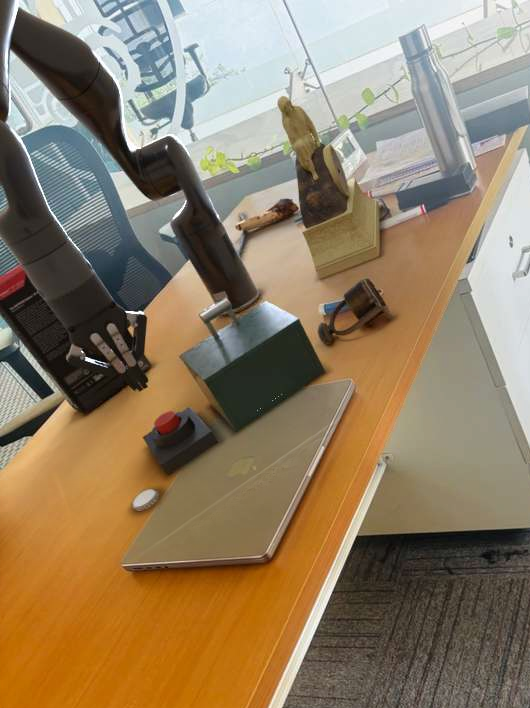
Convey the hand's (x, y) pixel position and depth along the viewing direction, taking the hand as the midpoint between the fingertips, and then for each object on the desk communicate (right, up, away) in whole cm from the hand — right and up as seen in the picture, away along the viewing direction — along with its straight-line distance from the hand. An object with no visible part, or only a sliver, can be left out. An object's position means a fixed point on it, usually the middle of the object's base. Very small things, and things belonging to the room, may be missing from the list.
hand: (142, 388), depth 101 cm
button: (+3, -5, +5) cm, 8 cm away
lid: (+13, +8, +5) cm, 16 cm away
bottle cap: (+1, -17, -2) cm, 17 cm away
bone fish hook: (+7, +57, +80) cm, 98 cm away
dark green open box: (+17, +1, +10) cm, 20 cm away
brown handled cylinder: (+32, +13, +14) cm, 37 cm away
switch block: (+4, -8, +7) cm, 11 cm away
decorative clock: (+29, +39, +45) cm, 67 cm away
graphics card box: (-17, +6, +36) cm, 40 cm away
